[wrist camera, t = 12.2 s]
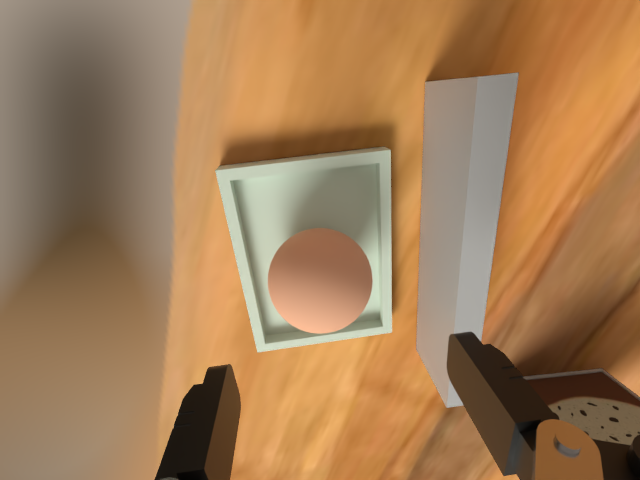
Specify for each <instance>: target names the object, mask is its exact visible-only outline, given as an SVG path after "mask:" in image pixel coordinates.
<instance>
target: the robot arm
mask: <svg viewBox="0 0 640 480" xmlns="http://www.w3.org/2000/svg"><path fill="white" fill-rule="evenodd" d="M447 373H448V376H449V379H450V382H451V384H452V385H453V387H454V389H455V391H456V393H457V394H458V396H459V398H460V400H461V401H462V403H463V405H464V407H465V408H466V410H467V412H468V414H469V416H470V417H471V419H472V421H473V423H474V424H475V426H476V428H477V430H478V431H479V433H480V435H481V437H482V439H483V440H484V442H485V444H486V446H487V447H488V449H489V451H490V453H491V455H492V456H493V458H494V460H495V462H496V463H497V465H498V467H499V469H500V470H501V472H502V474H503V476H507V475H513V474H517V476H518V477H519V479H520V480H640V434H639V435H637V436H636V437H635V438H634V440H633V442H632V444H631V445H626V444H620V443H614V442H607V441H601V440H596V439H592V438H590V437H589V436H588V435H587V434H586V433H585V432H584V431H582V430H581V429H579V428H578V427H576V426H574V425H572V424H570V423H568V422H565V421H562V420H559V418H558V417H557V416H556V415H555V414H554V413H553V412H552V410H551V409H550V408H549V407H548V406H547V404H546V403H545V402H544V401H543V400H542V398H541V397H540V396H539V395H538V394H537V392H536V391H535V390H534V389H533V388H532V386H531V385H530V384H529V383H528V382H527V380H526V379H525V378H523V376H522V374H521V373H520V372H519V371H518V370H517V368H515V367H514V365H513V364H512V362H511V361H510V360H509V359H508V358H507V356H506V355H505V354H504V353H503V352H501V351H500V350H498V349H497V348H495V347H494V346H492V345H491V344H486V345H483V344H482V343H481V341H480V340H479V339H478V338H477V336H476V335H475V334H474V333H473V332H471V331H470V332H463V333H455V334H450V336H449V341H448V353H447ZM240 410H241V402H240V394H239V390H238V387H237V383H236V380H235V376H234V372H233V369H232V366H231V365H230V364H228V365H221V366H214V367H209V368H208V369H207V372H206V375H205V378H204V382H203V384H197V385H193V387H192V388H191V389H190V390H189V392H188V393H187V394H186V396H185V397H184V398H183V401H182V404H181V406H180V409H179V412H178V416H177V418H176V421H175V424H174V429H172V432H171V435H170V438H169V441H168V444H167V446H166V449H165V452H164V455H163V458H162V461H161V464H160V466H159V469H158V472H157V475H156V477H155V480H230V476H231V469H232V463H233V456H234V450H235V443H236V437H237V430H238V424H239V418H240Z"/></svg>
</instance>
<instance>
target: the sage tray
mask: <svg viewBox="0 0 640 480" xmlns="http://www.w3.org/2000/svg"><path fill="white" fill-rule="evenodd" d="M215 171H216V176H217V180H218V184H219V189H220V193H221V197H222V202H223V206H224V210H225V214H226V219H227V223H228V227H229V232H230V236H231V240H232V245H233V249H234V253H235V257H236V262H237V266H238V270H239V275H240V279H241V283H242V288H243V292H244V296H245V300H246V305H247V309H248V313H249V318H250V322H251V326H252V331H253V335H254V339H255V343H256V348H257V352H264V351H271V350H277V349H284V348H291V347H298V346H304V345H311V344H318V343H324V342H331V341H338V340H345V339H351V338H358V337H365V336H372V335H378V334H385V333H392V260H391V150H390V149H388V148H386V147H384V146H383V147H375V148H366V149H358V150H349V151H341V152H332V153H324V154H315V155H307V156H298V157H290V158H281V159H273V160H264V161H256V162H247V163H239V164H230V165H222V166H219V167H218V168H217V169H216V170H215ZM313 228H327V229H333V230H336V231H339V232H341V233H343V234H345V235H347V236H349V237H350V238H351V239H353V240H354V241H355V242H356V243H357V244H358V245H359V246H360V247H361V248H362V250H363V251H364V253H365V254H366V256H367V258H368V261H369V263H370V266H371V270H372V279H373V282H372V291H371V295H370V298H369V301H368V303H367V305H366V307H365V309H364V310H363V312H362V313H361V314H360V315H359V317H358V318H357V319H356V320H355V321H353V322H352V323H351V324H350V325H348V326H346V327H345V328H343V329H340V330H338V331H334V332H330V333H322V334H318V333H310V332H305V331H303V330H300V329H298V328H296V327H294V326H292V325H291V324H289V323H288V322H287V321H286V320H285V319H284V318H283V317H282V316H281V315H280V314H279V313H278V311H277V310H276V308H275V307H274V305H273V303H272V300H271V297H270V294H269V290H268V272H269V267H270V264H271V261H272V259H273V257H274V255H275V253H276V252H277V250H278V249H279V247H280V246H281V245H282V244H283V243H284V242H285V241H286V240H288V239H289V238H290V237H292V236H293V235H295V234H297V233H299V232H301V231H304V230H307V229H313Z"/></svg>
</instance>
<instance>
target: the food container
mask: <svg viewBox="0 0 640 480" xmlns="http://www.w3.org/2000/svg"><path fill="white" fill-rule="evenodd" d="M523 378H525V379H526V380H527V382H528V383H529V384H530V385H531V386H532V388H533V389H534V390H535V391H536V392H537V394H538V395H539V396H540V397H541V398H542V400H543V401H544V402H545V403H546V404H547V406H548V407H549V408H550V409H551V410H552V412H553V413H554V414H555V415H556V416H557V417H558V418H559V420H562V421H565V422H568V423H570V424H572V425H574V426H576V427H578V428H579V429H581V430H582V431H584V432H585V433H586V434H587V435H588V436H589V437H590V438H592V439H596V440H601V441H607V442H614V443H620V444H626V445H631V444H632V442H633V440H634V438H635V437H636V436H637V435H639V434H640V397H639V396H638V395H636V394H635V393H634V392H632V391H631V390H630V389H628V388H627V387H626V386H625V385H623V384H622V383H621V382H619V381H618V380H617V379H615V378H614V377H613V376H611V375H610V374H609V373H608V372H606V371H605V370H604V369H602V368H600V369H591V370H581V371H572V372H562V373H553V374H543V375H534V376H524V377H523Z"/></svg>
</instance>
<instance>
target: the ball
mask: <svg viewBox="0 0 640 480" xmlns="http://www.w3.org/2000/svg"><path fill="white" fill-rule="evenodd" d="M372 282H373V279H372V270H371V266H370V263H369V261H368V258H367V256H366V254H365V253H364V251H363V250H362V248H361V247H360V246H359V245H358V244H357V243H356V242H355V241H354V240H353V239H351V238H350V237H349V236H347V235H345V234H343V233H341V232H339V231H336V230H333V229H327V228H313V229H307V230H304V231H301V232H299V233H297V234H295V235H293V236H292V237H290V238H289V239H288V240H286V241H285V242H284V243H283V244H282V245H281V246H280V247H279V249H278V250H277V252H276V253H275V255H274V257H273V259H272V261H271V264H270V267H269V272H268V290H269V294H270V297H271V300H272V303H273V305H274V307H275V308H276V310H277V311H278V313H279V314H280V315H281V316H282V317H283V318H284V319H285V320H286V321H287V322H288V323H289V324H291V325H292V326H294V327H296V328H298V329H300V330H303V331H305V332H310V333H318V334H322V333H330V332H334V331H338V330H340V329H343V328H345V327H346V326H348V325H350V324H351V323H352V322H353V321H355V320H356V319H357V318H358V317H359V315H360V314H361V313H362V312H363V310H364V309H365V307H366V305H367V303H368V301H369V298H370V295H371V291H372Z"/></svg>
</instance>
